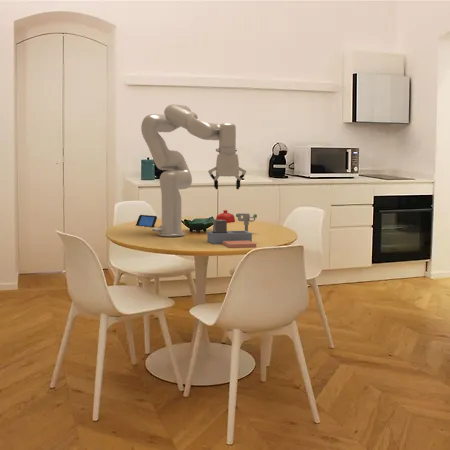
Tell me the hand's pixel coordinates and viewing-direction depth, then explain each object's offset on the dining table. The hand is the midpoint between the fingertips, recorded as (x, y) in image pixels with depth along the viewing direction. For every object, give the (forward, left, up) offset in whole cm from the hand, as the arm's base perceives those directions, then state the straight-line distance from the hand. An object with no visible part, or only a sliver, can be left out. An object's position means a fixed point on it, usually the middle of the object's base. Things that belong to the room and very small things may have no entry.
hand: (227, 189), depth 295 cm
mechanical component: (+17, +26, -24) cm, 39 cm away
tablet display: (-31, +56, -24) cm, 68 cm away
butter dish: (+18, +70, -24) cm, 76 cm away
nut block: (-4, -4, -24) cm, 24 cm away
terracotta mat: (+1, -17, -24) cm, 29 cm away
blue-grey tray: (0, -4, -24) cm, 24 cm away
